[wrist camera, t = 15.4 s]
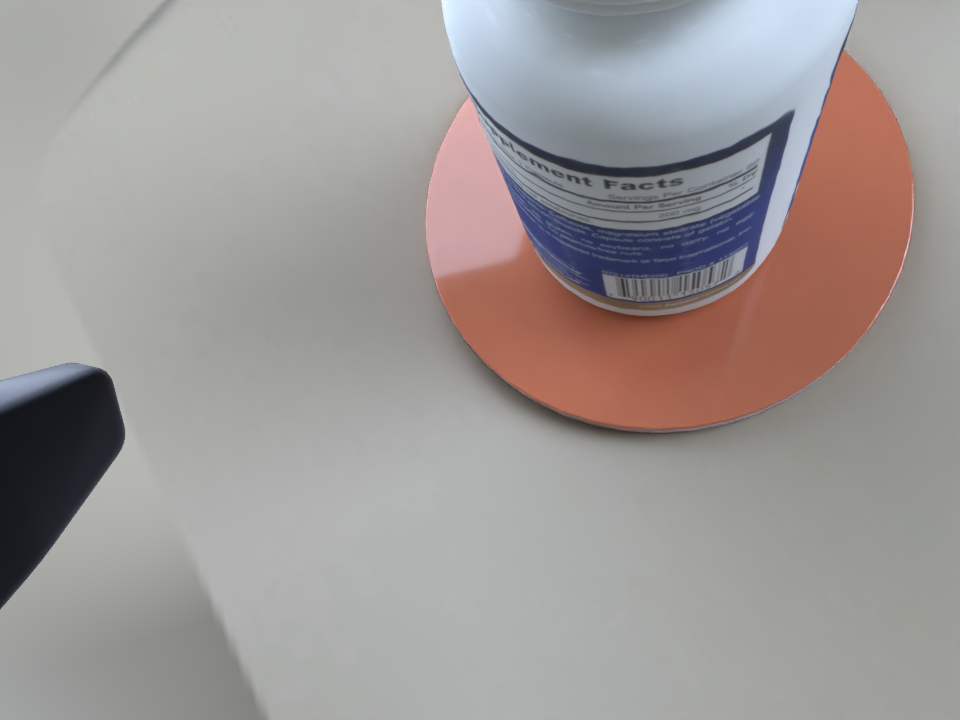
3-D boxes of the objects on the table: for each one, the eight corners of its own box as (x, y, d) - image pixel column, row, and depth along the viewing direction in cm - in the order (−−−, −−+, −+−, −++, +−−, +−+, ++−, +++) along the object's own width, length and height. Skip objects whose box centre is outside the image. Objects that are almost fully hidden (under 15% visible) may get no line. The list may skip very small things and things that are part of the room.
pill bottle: (618, 50, 18) (565, -512, 9) (840, 158, 16) (1071, -407, 7) (476, 241, 17) (262, -139, 8) (689, 373, 16) (721, 76, 6)
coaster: (523, 509, 16) (519, 508, 16) (375, 120, 19) (368, 111, 19) (1013, 310, 15) (1022, 303, 15) (767, -66, 18) (769, -80, 18)
